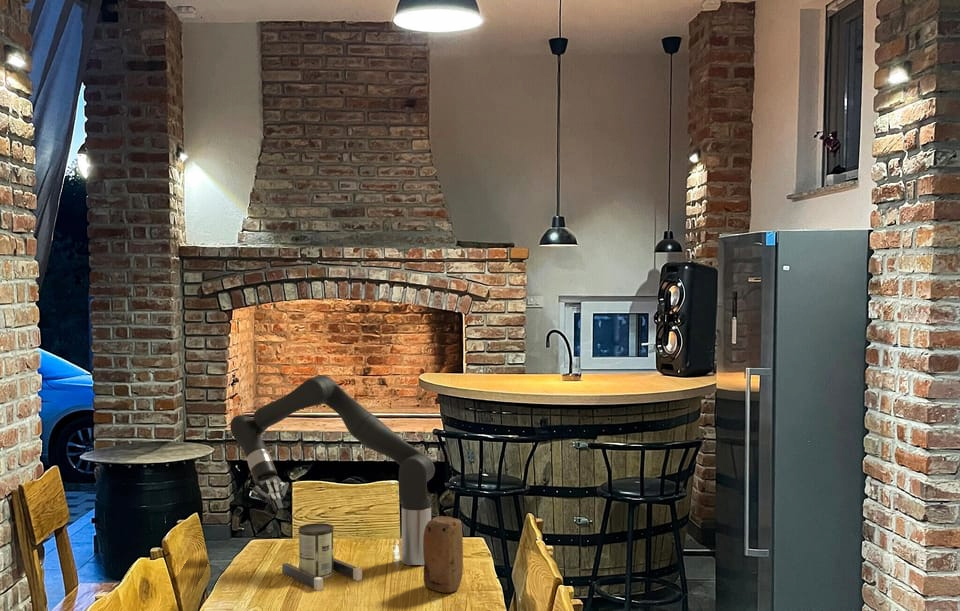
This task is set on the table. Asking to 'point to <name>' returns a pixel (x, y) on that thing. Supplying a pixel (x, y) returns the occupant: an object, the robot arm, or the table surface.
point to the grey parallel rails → (318, 581)
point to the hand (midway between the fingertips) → (279, 510)
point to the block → (443, 554)
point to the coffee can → (316, 549)
